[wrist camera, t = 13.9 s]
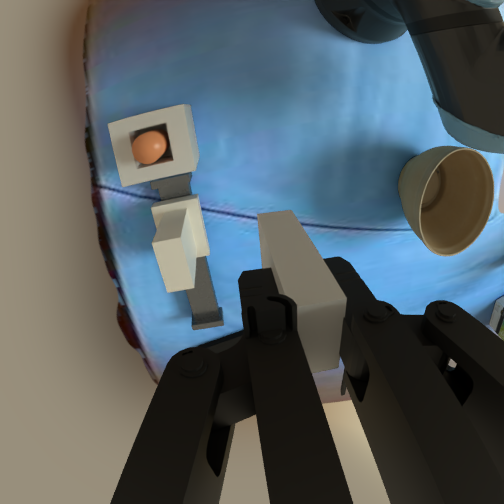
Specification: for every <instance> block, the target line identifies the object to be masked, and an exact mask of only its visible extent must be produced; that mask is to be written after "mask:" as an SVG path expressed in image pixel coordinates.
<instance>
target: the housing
mask: <svg viewBox="0 0 504 504" xmlns="http://www.w3.org/2000/svg"><path fill="white" fill-rule="evenodd" d="M108 128H109V132H110V137H111V142H112V146H113V151H114V155H115V159H116V164H117V168H118V172H119V176H120V180H121V184H122V187H125V186H129V185H133V184H138V183H142V182H146V181H150V180H155V179H159V178H163V177H168V176H173V175H177V174H182V173H187V172H192V171H196V168H197V164H198V160H199V156H200V155H199V150H198V144H197V139H196V133H195V128H194V122H193V116H192V110H191V105H187V104H181V105H176V106H172V107H168V108H163V109H159V110H155V111H151V112H147V113H143V114H140V115H136V116H132V117H129V118H125V119H122V120H118V121H115V122H112V123H108ZM154 129H162V130H165V131H166V132H167V133H168V135H169V140H170V146H169V148H168V150H167V151H166V152H165V153H164V154H163V155H162V156H161V157H160V158H159V159H158V160H156V161H155V162H153V163H151V164H143V163H140V162H138V161H137V160H136V159H135V158H134V156H133V153H132V145H133V142H134V140H135V139H136V138H137V137H138V136H140V135H142V134H144V133H146V132H149V131H151V130H154Z"/></svg>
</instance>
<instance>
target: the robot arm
mask: <svg viewBox="0 0 504 504" xmlns="http://www.w3.org/2000/svg"><path fill="white" fill-rule="evenodd" d="M315 2H316V5H317V7H318V9H319V10H320V12H321V13H322V15H323V16H324V18H325V19H326V20H327V21H328V22H329V23H330V24H331V25H332V26H333V27H334V28H335V29H337V30H338V31H339V32H341V33H342V34H344V35H346V36H347V37H349V38H351V39H354V40H356V41H359V42H363V43H369V44H379V43H384V42H388V41H392V40H395V39H397V38H398V37H400V36H402V35H403V34H404V33H405V32H406V31H407V29H408V31H409V34H410V36H411V39H412V41H413V43H414V45H415V48H416V50H417V53H418V55H419V57H420V60H421V63H422V65H423V68H424V71H425V74H426V76H427V79H428V82H429V85H430V88H431V91H432V94H433V102H434V104H435V105H436V107H437V108H438V111H439V114H440V117H441V120H442V123H443V126H444V128H445V130H446V131H447V132H448V134H449V135H451V136H452V137H453V138H454V139H455V140H456V141H458V142H460V143H461V144H463V145H466V146H468V147H471V148H473V149H477V150H481V151H485V152H491V153H500V154H504V22H502V21H503V19H502V16H501V14H500V11H499V9H498V7H499V6H500V5H501V4H502V3H503V2H504V0H315ZM257 217H258V228H259V238H260V249H261V259H262V269H256V270H249V271H243V272H242V274H241V276H240V277H239V279H238V284H239V292H240V300H241V308H242V313H241V314H242V321H243V327H244V333H243V336H242V338H241V339H240V340H239V341H238V343H236V344H235V345H234V346H232V347H231V348H229V349H227V350H224V351H222V352H219V353H214V352H213V351H211V350H210V349H207V348H203V347H190V348H187V349H184V350H181V351H179V352H178V353H176V354H175V355H174V356H172V358H171V359H170V360H169V362H168V363H167V365H166V368H165V370H164V372H163V375H162V377H161V379H160V382H159V384H158V386H157V389H156V391H155V393H154V396H153V398H152V401H151V403H150V405H149V408H148V410H147V412H146V415H145V417H144V420H143V422H142V424H141V427H140V429H139V432H138V434H137V437H136V439H135V442H134V444H133V447H132V449H131V452H130V454H129V457H128V459H127V462H126V464H125V467H124V469H123V472H122V474H121V477H120V480H119V482H118V485H117V487H116V490H115V492H114V495H113V498H112V500H111V503H110V504H219V500H220V496H221V491H222V486H223V481H224V477H225V472H226V467H227V463H228V458H229V452H230V448H231V443H232V438H233V433H234V428H235V423H237V422H239V421H242V420H244V419H246V418H249V417H251V416H253V415H256V417H257V424H258V430H259V436H260V443H261V450H262V456H263V463H264V469H265V475H266V481H267V487H268V493H269V499H270V504H353V501H352V498H351V495H350V491H349V488H348V485H347V482H346V479H345V475H344V472H343V469H342V466H341V463H340V459H339V456H338V453H337V450H336V447H335V443H334V441H333V437H332V434H331V431H330V428H329V425H328V422H327V418H326V415H325V412H324V409H323V406H322V403H321V400H320V397H319V394H318V391H317V388H316V385H315V382H314V379H313V376H312V373H316V372H321V371H326V370H330V369H335V368H338V367H339V360H340V357H341V359H342V361H343V364H344V366H345V368H344V374H343V380H342V385H341V395H345V391H346V387H347V389H348V392H349V394H350V397H351V399H352V402H353V404H354V407H355V409H356V412H357V414H358V417H359V419H360V422H361V425H362V427H363V430H364V432H365V435H366V437H367V440H368V443H369V446H370V448H371V451H372V453H373V456H374V459H375V462H376V464H377V467H378V470H379V472H380V475H381V478H382V480H383V483H384V486H385V489H386V492H387V495H388V497H389V500H390V503H391V504H504V341H503V340H502V339H501V338H499V337H498V336H497V335H496V334H494V333H493V332H492V331H491V330H489V329H488V328H487V327H486V326H484V325H483V324H482V323H480V322H479V321H478V320H477V319H475V318H474V317H473V316H471V315H470V314H469V313H467V312H466V311H465V310H463V309H462V308H461V307H459V306H458V305H456V304H454V303H452V302H449V301H445V300H437V301H434V302H431V303H430V304H429V305H427V306H426V310H425V313H424V315H403V314H400V313H399V312H398V310H397V309H396V308H395V307H393V306H392V305H391V304H389V303H387V302H384V301H379V300H377V299H376V298H375V297H374V295H373V294H372V292H371V291H370V290H369V288H368V287H367V285H366V284H365V283H364V281H363V280H362V279H361V278H360V276H359V274H358V273H357V272H356V270H355V269H354V268H353V266H352V265H351V264H350V262H348V261H346V260H344V259H343V258H341V257H332V258H326V259H323V258H322V257H321V255H320V254H319V252H318V250H317V249H316V247H315V246H314V244H313V243H312V241H311V239H310V238H309V236H308V235H307V233H306V232H305V230H304V229H303V227H302V225H301V224H300V222H299V221H298V219H297V218H296V216H295V215H294V213H293V212H292V210H286V211H278V212H270V213H261V214H257ZM450 359H452V360H453V361H455V362H456V363H457V365H456V367H455V368H453V367H450V366H449V365H448V363H449V361H450Z"/></svg>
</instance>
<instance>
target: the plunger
mask: <svg viewBox="0 0 504 504" xmlns="http://www.w3.org/2000/svg"><path fill="white" fill-rule="evenodd" d="M169 146H170V140H169V135H168V133H167V132H166V131H165V130H162V129H154V130H151V131H149V132H146V133H144V134H142V135H140V136H138V137H137V138H136V139H135V140H134V142H133V145H132V153H133V156H134V158H135V159H136V160H137V161H138V162H140V163H143V164H151V163H153V162H155V161H156V160H158V159H159V158H160V157H161V156H162V155H163V154H164V153H165V152H166V151H167V150H168V148H169Z"/></svg>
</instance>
